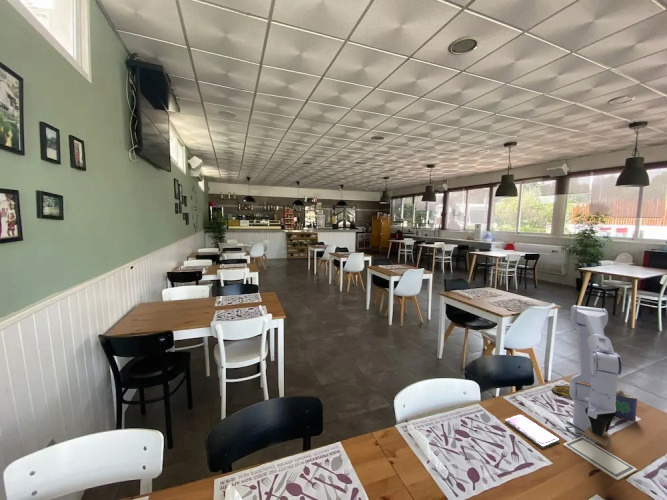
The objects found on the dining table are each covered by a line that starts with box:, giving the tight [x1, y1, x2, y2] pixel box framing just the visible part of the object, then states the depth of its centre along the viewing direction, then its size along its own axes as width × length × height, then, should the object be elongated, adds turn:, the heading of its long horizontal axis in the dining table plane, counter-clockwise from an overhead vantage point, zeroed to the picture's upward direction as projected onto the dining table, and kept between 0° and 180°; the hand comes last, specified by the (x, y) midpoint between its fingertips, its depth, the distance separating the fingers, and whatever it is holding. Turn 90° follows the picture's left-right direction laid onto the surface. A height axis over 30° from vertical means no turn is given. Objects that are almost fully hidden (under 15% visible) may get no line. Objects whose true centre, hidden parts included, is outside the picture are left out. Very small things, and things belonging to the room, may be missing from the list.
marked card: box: [562, 436, 638, 481], centre depth 87 cm, size 10×14×1 cm
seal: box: [551, 384, 573, 400], centre depth 122 cm, size 9×5×15 cm
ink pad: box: [504, 414, 560, 449], centre depth 98 cm, size 8×13×1 cm, turn 20°
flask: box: [614, 389, 638, 422], centre depth 106 cm, size 9×3×11 cm, turn 61°
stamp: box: [583, 426, 613, 448], centre depth 87 cm, size 5×5×6 cm
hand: (599, 431), depth 87 cm, fingers closed on stamp, 3 cm apart
